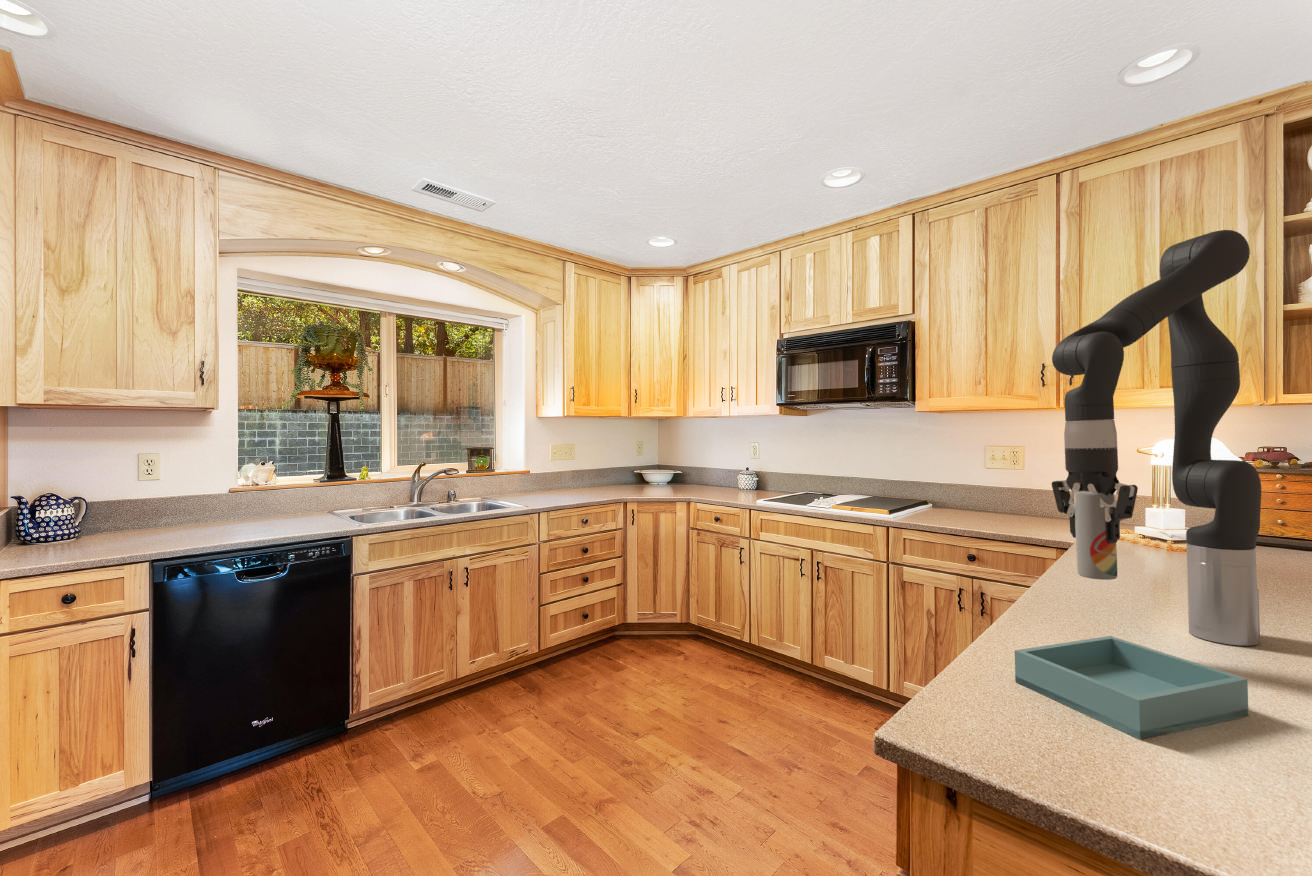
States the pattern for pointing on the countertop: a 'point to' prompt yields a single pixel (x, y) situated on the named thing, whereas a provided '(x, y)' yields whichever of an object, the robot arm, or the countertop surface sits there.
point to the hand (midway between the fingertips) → (1094, 539)
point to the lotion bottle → (1093, 533)
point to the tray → (1132, 685)
